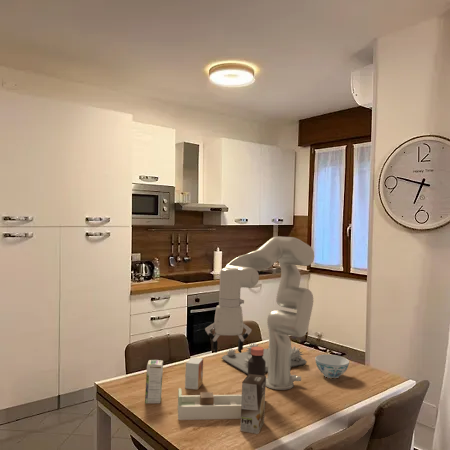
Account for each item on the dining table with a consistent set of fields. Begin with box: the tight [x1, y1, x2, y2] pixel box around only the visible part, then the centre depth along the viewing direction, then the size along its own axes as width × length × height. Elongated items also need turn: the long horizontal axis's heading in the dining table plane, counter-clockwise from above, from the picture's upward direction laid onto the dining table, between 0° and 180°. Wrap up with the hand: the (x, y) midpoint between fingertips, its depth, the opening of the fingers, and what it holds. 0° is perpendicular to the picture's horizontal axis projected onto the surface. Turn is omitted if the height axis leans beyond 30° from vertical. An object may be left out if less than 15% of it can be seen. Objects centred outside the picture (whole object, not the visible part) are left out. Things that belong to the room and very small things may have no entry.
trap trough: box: [177, 387, 242, 421], centre depth 152 cm, size 28×10×8 cm, turn 97°
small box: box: [184, 357, 204, 391], centre depth 176 cm, size 8×6×10 cm
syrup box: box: [144, 359, 164, 404], centre depth 160 cm, size 6×6×14 cm
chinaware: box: [314, 354, 350, 379], centre depth 193 cm, size 15×15×8 cm
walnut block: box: [199, 391, 214, 405], centre depth 151 cm, size 4×4×4 cm
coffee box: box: [239, 374, 267, 435], centre depth 142 cm, size 9×6×16 cm
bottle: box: [247, 346, 266, 376], centre depth 164 cm, size 7×7×20 cm
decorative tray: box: [221, 342, 308, 375], centre depth 208 cm, size 35×26×10 cm
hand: (227, 351), depth 152 cm, fingers open, 8 cm apart
